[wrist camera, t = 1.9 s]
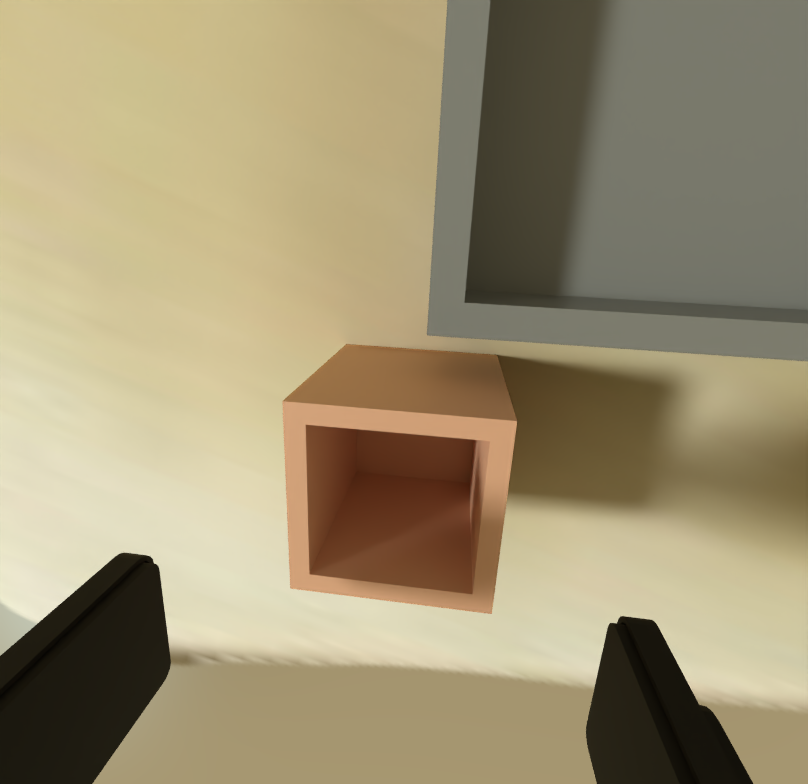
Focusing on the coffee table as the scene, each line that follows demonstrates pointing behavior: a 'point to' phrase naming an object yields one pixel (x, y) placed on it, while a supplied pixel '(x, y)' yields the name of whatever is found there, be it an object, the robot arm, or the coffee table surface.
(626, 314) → the grey square tray
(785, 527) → the coffee table surface
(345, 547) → the small crate
